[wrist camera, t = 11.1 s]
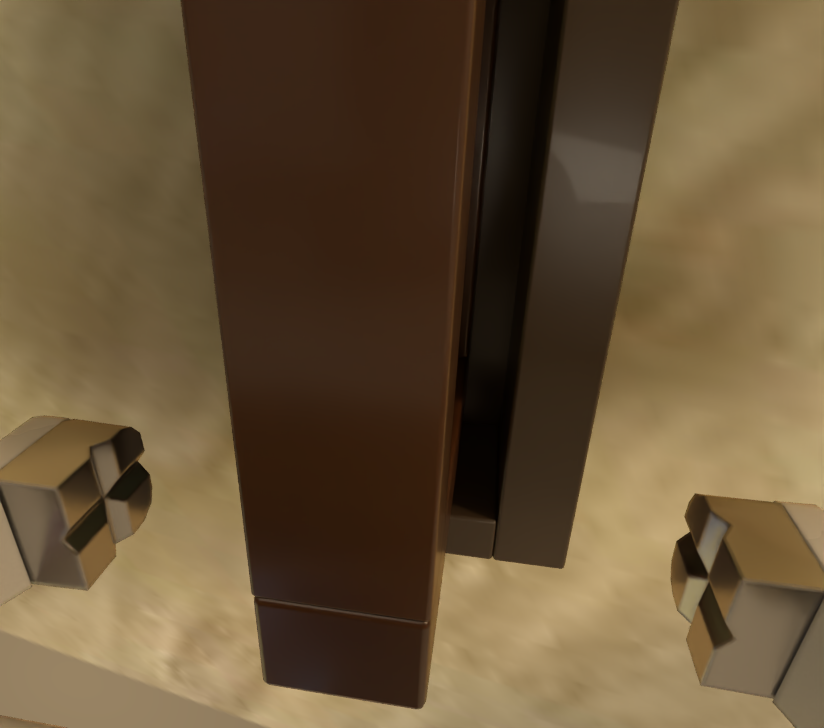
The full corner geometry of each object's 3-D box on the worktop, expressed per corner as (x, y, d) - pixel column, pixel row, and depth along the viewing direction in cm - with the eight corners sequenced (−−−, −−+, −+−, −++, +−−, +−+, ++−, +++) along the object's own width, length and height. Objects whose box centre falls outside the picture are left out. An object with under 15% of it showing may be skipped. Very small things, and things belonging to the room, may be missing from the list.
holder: (722, -320, 9) (874, -602, 5) (574, 453, 15) (595, 574, 11) (238, -302, 10) (73, -531, 6) (288, 421, 16) (223, 524, 12)
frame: (515, -150, 9) (536, -819, 2) (466, 389, 14) (424, 714, 7) (393, -149, 10) (83, -760, 3) (384, 381, 14) (260, 687, 7)
